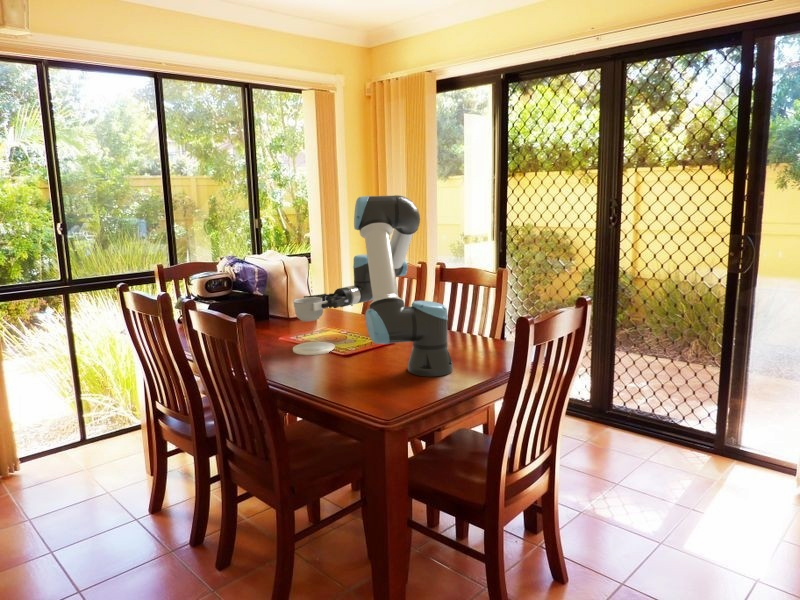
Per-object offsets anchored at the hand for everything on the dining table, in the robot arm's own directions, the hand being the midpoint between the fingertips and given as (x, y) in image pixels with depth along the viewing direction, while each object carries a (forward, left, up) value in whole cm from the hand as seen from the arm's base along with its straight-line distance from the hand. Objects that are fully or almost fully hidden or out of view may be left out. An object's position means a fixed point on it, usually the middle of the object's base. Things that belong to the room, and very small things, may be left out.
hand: (303, 305), depth 222 cm
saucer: (+1, -4, -18) cm, 18 cm away
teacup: (+2, -3, -6) cm, 7 cm away
